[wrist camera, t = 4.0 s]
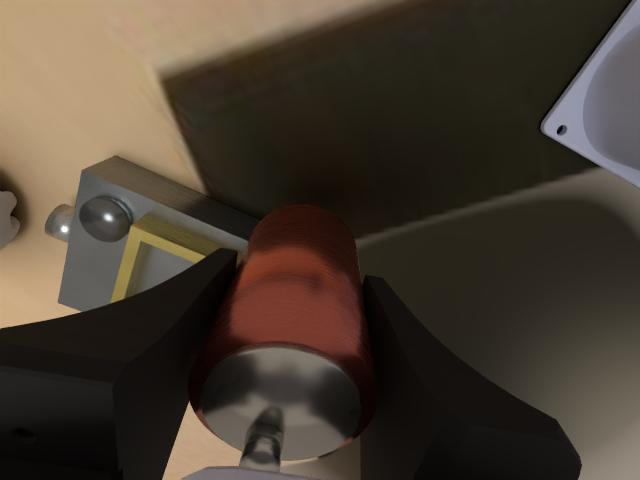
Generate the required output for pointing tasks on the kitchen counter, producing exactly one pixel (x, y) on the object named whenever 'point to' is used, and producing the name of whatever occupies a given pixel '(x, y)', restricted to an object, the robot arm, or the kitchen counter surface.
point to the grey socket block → (137, 233)
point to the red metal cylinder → (289, 344)
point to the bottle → (7, 218)
